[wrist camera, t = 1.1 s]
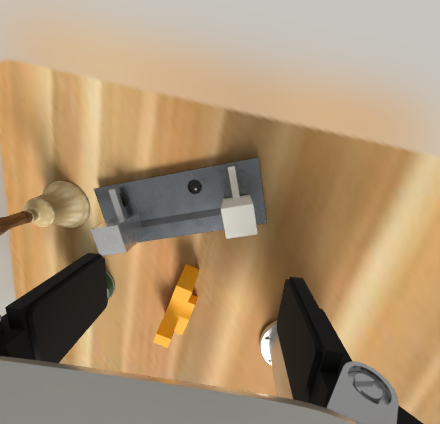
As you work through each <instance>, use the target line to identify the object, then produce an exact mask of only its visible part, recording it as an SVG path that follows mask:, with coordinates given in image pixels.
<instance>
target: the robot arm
mask: <svg viewBox="0 0 440 424" xmlns="http://www.w3.org/2000/svg"><path fill="white" fill-rule="evenodd" d="M107 303H108V296H107V282H106V268H105V259H104V258H103V257H102V255H101V254H94V253H88V254H86V255H84V256H83V257H81V258H80V259H78V260H77V261H75V262H74V263H72V264H71V265H69V266H67V267H66V268H64V269H63V270H61V271H60V272H58V273H57V274H55V275H54V276H52V277H51V278H49V279H48V280H46V281H45V282H43V283H42V284H40V285H39V286H37V287H36V288H34V289H32V290H31V291H29V292H28V293H26V294H25V295H23V296H22V297H20V298H19V299H17V300H16V301H14V302H13V303H11V304H10V305H8V306H7V307H6V312H7V314H5V315H4V316H2V317H1V315H0V424H423V423H421V422H420V421H419V420H417V419H416V418H415V417H413V416H412V415H411V414H409V413H408V412H407V411H405V410H404V409H402V408H401V407H400V406H398V397H397V395H396V392H395V390H394V389H393V387H392V386H391V385H390V383H389V382H388V381H387V380H386V379H385V378H384V377H383V376H382V375H381V374H380V373H378V372H377V371H376V370H374V369H373V368H371V367H369V366H367V365H366V364H363V363H360V362H352V360H351V358H350V356H349V355H348V353H347V351H346V349H345V348H344V346H343V344H342V342H341V341H340V339H339V337H338V335H337V334H336V332H335V330H334V328H333V327H332V325H331V323H330V321H329V319H328V318H327V316H326V314H325V312H324V311H323V310H322V309H321V308H319V307H318V305H317V303H316V301H315V300H314V298H313V296H312V294H311V292H310V290H309V289H308V287H307V285H306V283H305V281H304V280H303V278H296V277H290V278H289V280H288V279H286V281H285V285H284V290H283V295H282V300H281V305H280V310H279V315H278V320H276V321H274V322H272V323H271V324H270V325H268V326H267V327H266V328H265V330H264V331H263V333H262V335H261V338H260V348H261V353H262V355H263V357H264V358H265V360H266V361H267V362H268V363H269V364H270V365H272V370H273V376H274V382H275V387H276V393H277V396H272V395H266V394H260V393H255V392H249V391H243V390H236V389H230V388H223V387H217V386H210V385H204V384H197V383H191V382H184V381H178V380H171V379H164V378H157V377H151V376H144V375H137V374H130V373H123V372H116V371H109V370H103V369H96V368H88V367H81V366H74V365H67V364H60V363H59V362H60V361H61V360H62V358H63V357H64V356H65V355H66V354H67V353H68V351H69V350H70V349H71V348H72V347H73V346H74V344H75V343H76V342H77V341H78V340H79V339H80V337H81V336H82V335H83V334H84V333H85V332H86V330H87V329H88V328H89V327H90V326H91V325H92V323H93V322H94V321H95V320H96V319H97V318H98V316H99V315H100V314H101V313H102V312H103V310H104V309H105V308H106V306H107Z"/></svg>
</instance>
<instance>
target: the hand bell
mask: <svg viewBox="0 0 440 424" xmlns="http://www.w3.org/2000/svg"><path fill="white" fill-rule="evenodd" d="M89 213H90V205H89V201H88V199H87V197H86V195H85V194H84V192H83V191H82V190H81V189H80V188H79V187H78V186H76V185H75V184H73V183H70V182H67V181H55V182H52V183H51V184H49V185H48V186H47V187H46V188H45V189H44V191H43V193H42V195H40V196H38V197H36V198H32V199H30V200H29V201H28V202H27V203H26V205H25V211H22V212H20V213H16V214H13V215H10V216H7V217H2V218H0V235H1V234H3V233H4V232H6V231H7V230H9V229H11V228H13V227H16V226H19V225H22V224H25V223H30V222H31V223H33V224H35V225H37V226H40V227H46V226H50V225H55V224H57V225H59V226H62V227H67V228H75V227H79V226H81V225H82V224H84V223H85V222H86V220H87V219H88V217H89Z"/></svg>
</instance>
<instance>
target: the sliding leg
mask: <svg viewBox="0 0 440 424" xmlns="http://www.w3.org/2000/svg"><path fill="white" fill-rule="evenodd" d="M228 173H229V178H230V184H231V190H232V196H233V197H231V198H226V199H223V202H222V206H221V214H222V219H223V224H224V229H225V234H226V239H229V238H236V237H242V236H249V235H256V234H258V233H257V227H256V220H255V213H254V206H253V202H252V199H251V197H250V194H249V195H243V196H240V195H239V189H238V183H237V177H236V171H235V166H232V167H228Z"/></svg>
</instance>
